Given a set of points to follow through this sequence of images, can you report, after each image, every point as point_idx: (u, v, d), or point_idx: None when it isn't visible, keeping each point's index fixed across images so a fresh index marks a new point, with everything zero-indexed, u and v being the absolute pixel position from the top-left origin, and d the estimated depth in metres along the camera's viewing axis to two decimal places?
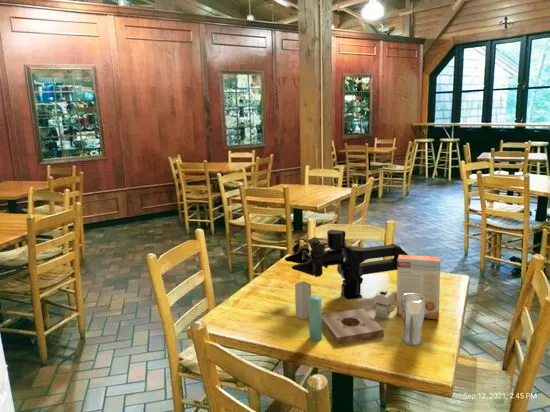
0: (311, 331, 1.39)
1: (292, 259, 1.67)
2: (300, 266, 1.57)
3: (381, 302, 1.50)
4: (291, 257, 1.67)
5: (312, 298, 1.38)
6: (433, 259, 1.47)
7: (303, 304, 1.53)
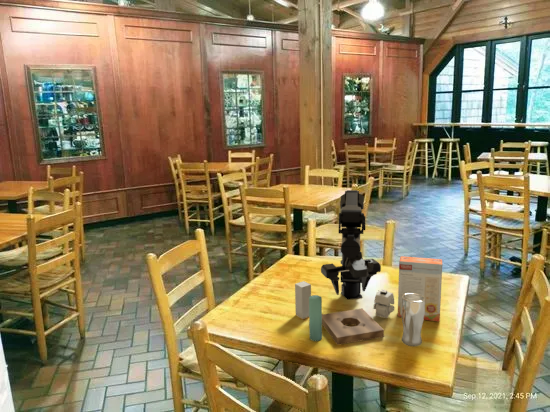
0: (311, 331, 1.39)
1: None
2: None
3: (381, 302, 1.50)
4: None
5: (312, 298, 1.38)
6: (435, 262, 1.46)
7: (303, 304, 1.53)
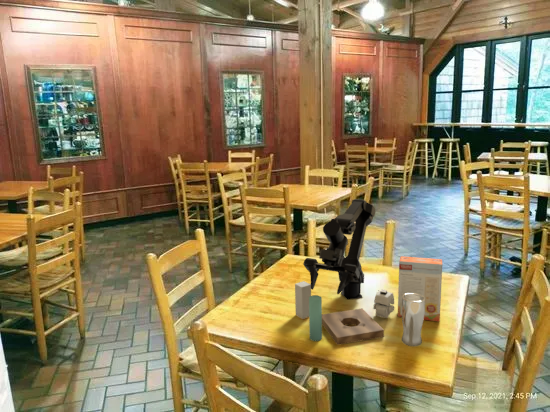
0: (311, 331, 1.39)
1: (314, 281, 1.49)
2: (342, 285, 1.43)
3: (381, 302, 1.50)
4: (313, 281, 1.48)
5: (312, 298, 1.38)
6: (435, 262, 1.46)
7: (303, 304, 1.53)
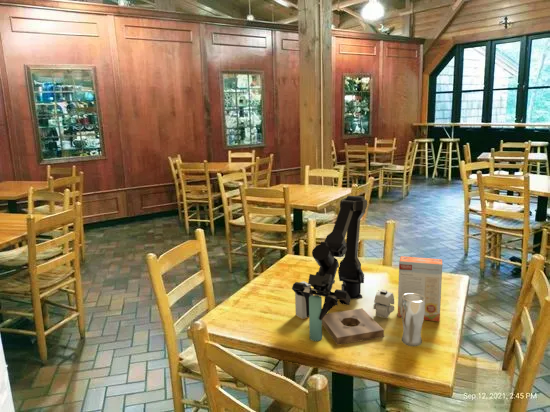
0: (311, 331, 1.39)
1: None
2: (325, 311, 1.38)
3: (381, 302, 1.50)
4: None
5: (312, 298, 1.38)
6: (435, 262, 1.46)
7: (303, 304, 1.53)
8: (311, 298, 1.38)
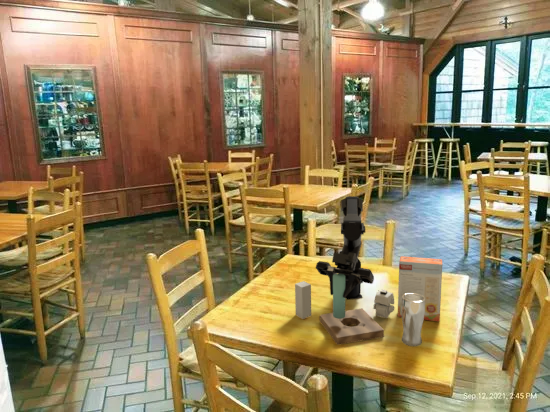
0: (335, 309, 1.42)
1: None
2: (348, 289, 1.40)
3: (381, 302, 1.50)
4: None
5: (336, 276, 1.40)
6: (435, 262, 1.46)
7: (303, 304, 1.53)
8: (335, 276, 1.40)
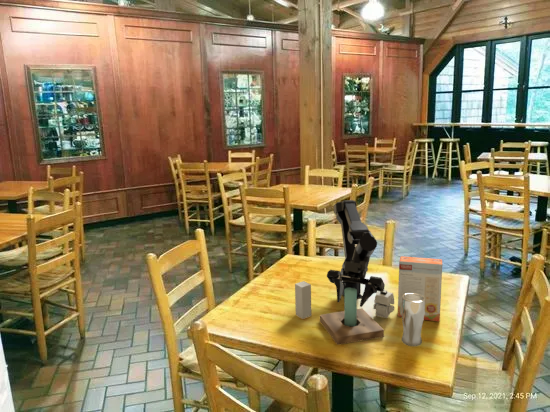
0: (346, 322, 1.44)
1: (340, 294, 1.46)
2: (365, 298, 1.42)
3: (381, 302, 1.50)
4: (339, 294, 1.46)
5: (348, 290, 1.42)
6: (435, 262, 1.46)
7: (303, 304, 1.53)
8: (347, 290, 1.43)
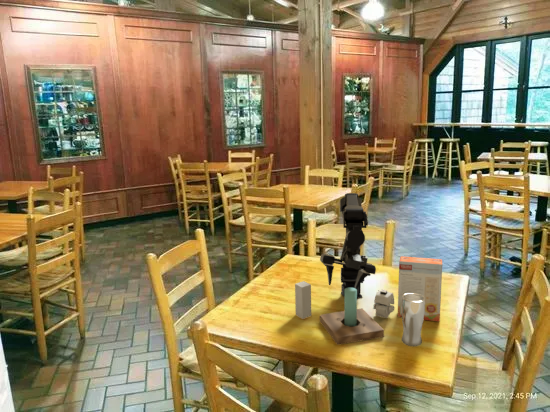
0: (346, 322, 1.44)
1: None
2: None
3: (381, 302, 1.50)
4: None
5: (348, 290, 1.42)
6: (435, 262, 1.46)
7: (303, 304, 1.53)
8: (347, 290, 1.43)
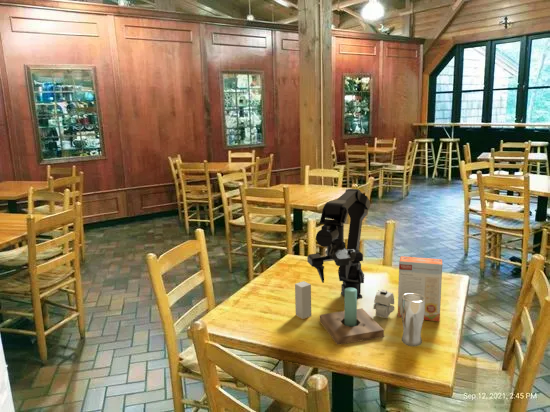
0: (346, 322, 1.44)
1: None
2: None
3: (381, 302, 1.50)
4: None
5: (348, 290, 1.43)
6: (435, 262, 1.46)
7: (303, 304, 1.53)
8: (347, 290, 1.43)
